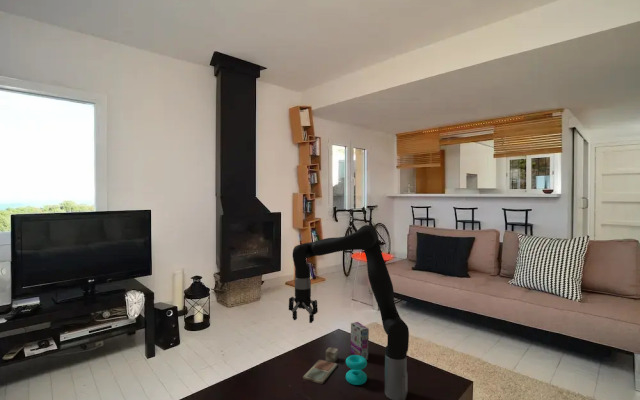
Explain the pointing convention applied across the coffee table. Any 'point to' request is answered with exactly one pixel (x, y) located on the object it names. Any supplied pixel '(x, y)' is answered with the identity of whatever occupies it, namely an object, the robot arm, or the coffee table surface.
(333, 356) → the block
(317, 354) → the coffee table surface
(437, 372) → the coffee table surface
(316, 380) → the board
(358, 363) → the donuts
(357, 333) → the candy bar box
